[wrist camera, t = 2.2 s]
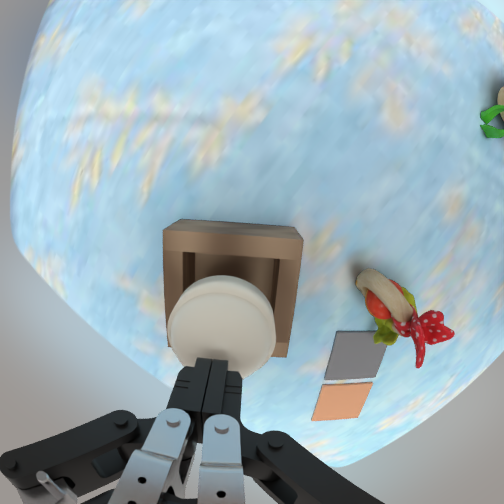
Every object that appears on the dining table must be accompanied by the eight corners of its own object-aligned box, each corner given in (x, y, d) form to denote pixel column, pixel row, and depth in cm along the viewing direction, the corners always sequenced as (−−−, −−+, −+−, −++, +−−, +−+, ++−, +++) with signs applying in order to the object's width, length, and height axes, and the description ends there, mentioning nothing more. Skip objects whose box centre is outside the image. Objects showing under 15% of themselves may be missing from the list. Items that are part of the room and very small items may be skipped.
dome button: (276, 264, 19) (286, 314, 12) (267, 342, 21) (271, 409, 14) (184, 257, 19) (148, 302, 12) (186, 335, 21) (161, 398, 14)
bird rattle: (332, 293, 28) (384, 353, 26) (330, 312, 18) (405, 399, 16) (375, 252, 27) (426, 314, 25) (398, 246, 16) (469, 340, 14)
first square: (390, 330, 27) (391, 331, 27) (374, 375, 29) (375, 377, 29) (336, 331, 27) (337, 332, 27) (324, 378, 29) (324, 380, 28)
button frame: (294, 226, 24) (303, 239, 19) (281, 327, 27) (286, 357, 22) (180, 219, 24) (162, 230, 19) (181, 319, 27) (168, 346, 22)
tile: (372, 381, 29) (372, 383, 29) (357, 416, 31) (357, 417, 31) (322, 384, 29) (322, 386, 29) (311, 419, 31) (311, 420, 30)
